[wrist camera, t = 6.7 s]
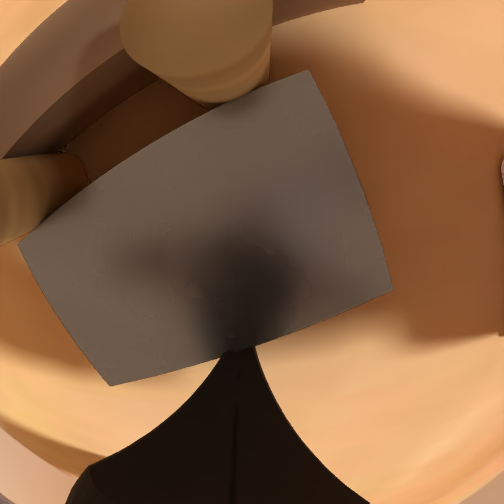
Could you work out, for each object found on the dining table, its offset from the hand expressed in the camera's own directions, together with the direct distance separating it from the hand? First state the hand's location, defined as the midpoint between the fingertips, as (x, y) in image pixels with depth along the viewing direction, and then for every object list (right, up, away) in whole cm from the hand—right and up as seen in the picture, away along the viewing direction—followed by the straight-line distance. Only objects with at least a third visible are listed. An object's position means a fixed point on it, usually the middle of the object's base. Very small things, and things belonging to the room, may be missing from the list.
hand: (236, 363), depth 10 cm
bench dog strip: (-4, +9, -1) cm, 10 cm away
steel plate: (-1, +4, 0) cm, 4 cm away
